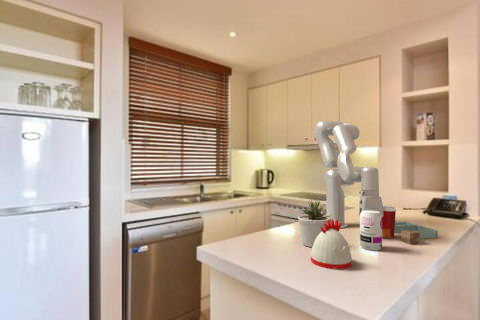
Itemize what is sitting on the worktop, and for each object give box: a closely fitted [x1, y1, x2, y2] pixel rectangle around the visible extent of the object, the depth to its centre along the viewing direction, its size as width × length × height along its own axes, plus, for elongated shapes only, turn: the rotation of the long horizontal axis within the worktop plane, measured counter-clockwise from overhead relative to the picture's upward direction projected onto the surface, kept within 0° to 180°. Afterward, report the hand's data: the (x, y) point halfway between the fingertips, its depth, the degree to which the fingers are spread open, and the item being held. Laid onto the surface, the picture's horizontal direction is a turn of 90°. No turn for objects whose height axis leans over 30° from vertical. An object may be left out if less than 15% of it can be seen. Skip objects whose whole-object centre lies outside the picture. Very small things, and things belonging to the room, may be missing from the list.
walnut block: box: [400, 230, 421, 246], centre depth 122 cm, size 5×5×5 cm
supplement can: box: [359, 210, 383, 252], centre depth 114 cm, size 8×8×15 cm
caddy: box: [394, 221, 439, 240], centre depth 138 cm, size 15×19×4 cm
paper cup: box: [382, 205, 397, 239], centre depth 132 cm, size 8×8×14 cm
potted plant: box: [297, 198, 332, 248], centre depth 119 cm, size 13×14×20 cm
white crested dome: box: [310, 220, 353, 270], centre depth 99 cm, size 14×14×15 cm
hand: (371, 232), depth 130 cm, fingers closed
